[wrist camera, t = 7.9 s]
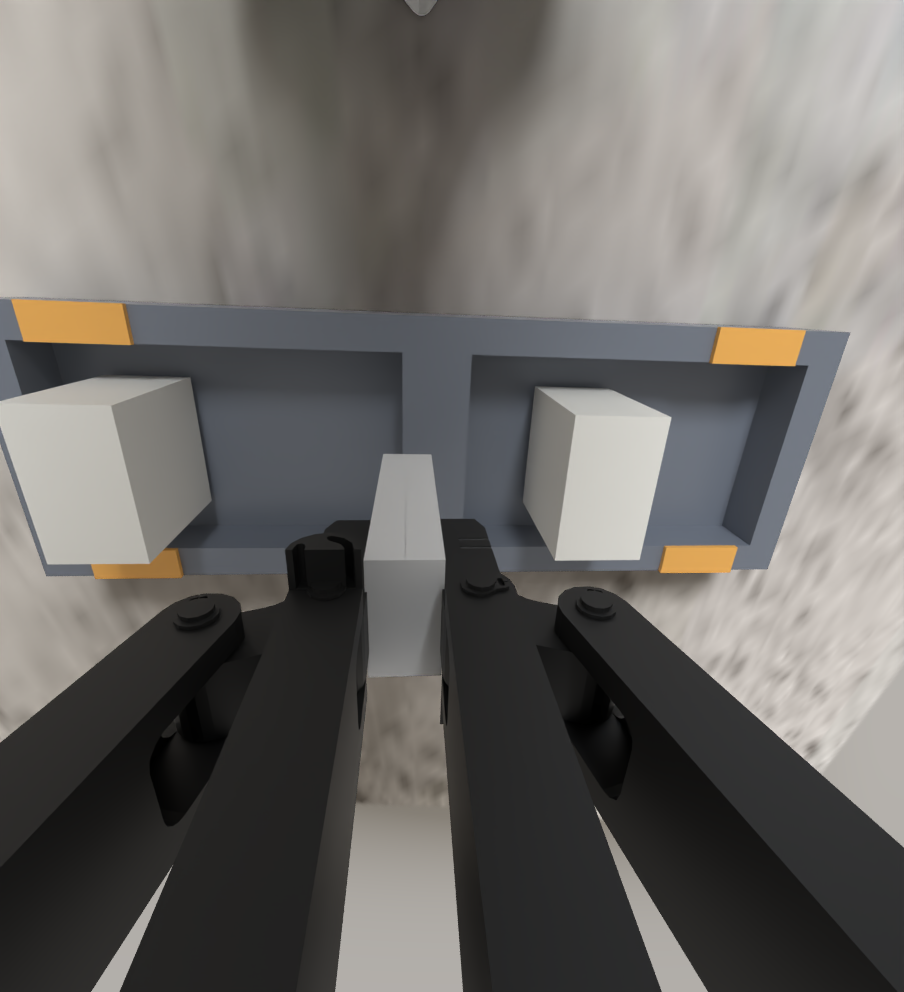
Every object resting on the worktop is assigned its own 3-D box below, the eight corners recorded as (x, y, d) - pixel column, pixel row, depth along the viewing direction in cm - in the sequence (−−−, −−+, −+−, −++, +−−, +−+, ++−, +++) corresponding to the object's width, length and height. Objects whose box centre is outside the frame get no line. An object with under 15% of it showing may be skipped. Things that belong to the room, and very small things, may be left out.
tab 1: (104, 374, 17) (-9, 403, 12) (190, 377, 17) (110, 405, 13) (135, 500, 19) (47, 564, 14) (211, 500, 19) (149, 563, 15)
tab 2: (535, 386, 19) (575, 415, 14) (608, 388, 19) (671, 417, 14) (522, 501, 20) (554, 560, 16) (589, 501, 21) (639, 559, 16)
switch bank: (23, 296, 17) (-58, 296, 14) (789, 327, 20) (855, 332, 17) (94, 539, 21) (42, 579, 18) (725, 537, 24) (770, 571, 21)
